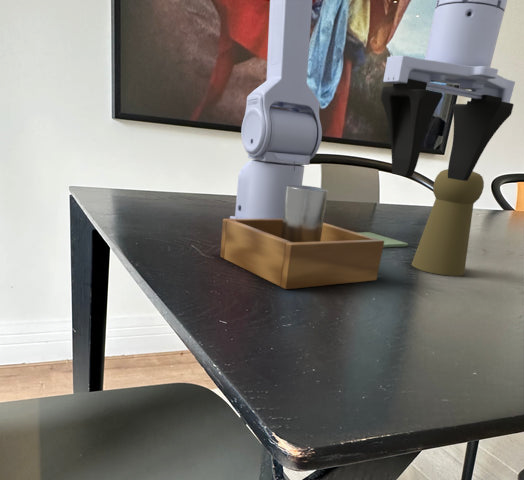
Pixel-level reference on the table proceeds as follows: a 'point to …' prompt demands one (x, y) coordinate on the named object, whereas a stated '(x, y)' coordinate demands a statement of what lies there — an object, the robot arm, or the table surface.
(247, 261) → the wooden box
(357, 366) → the table surface
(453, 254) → the cork
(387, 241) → the felt mat
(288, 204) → the metal tube
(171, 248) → the table surface
